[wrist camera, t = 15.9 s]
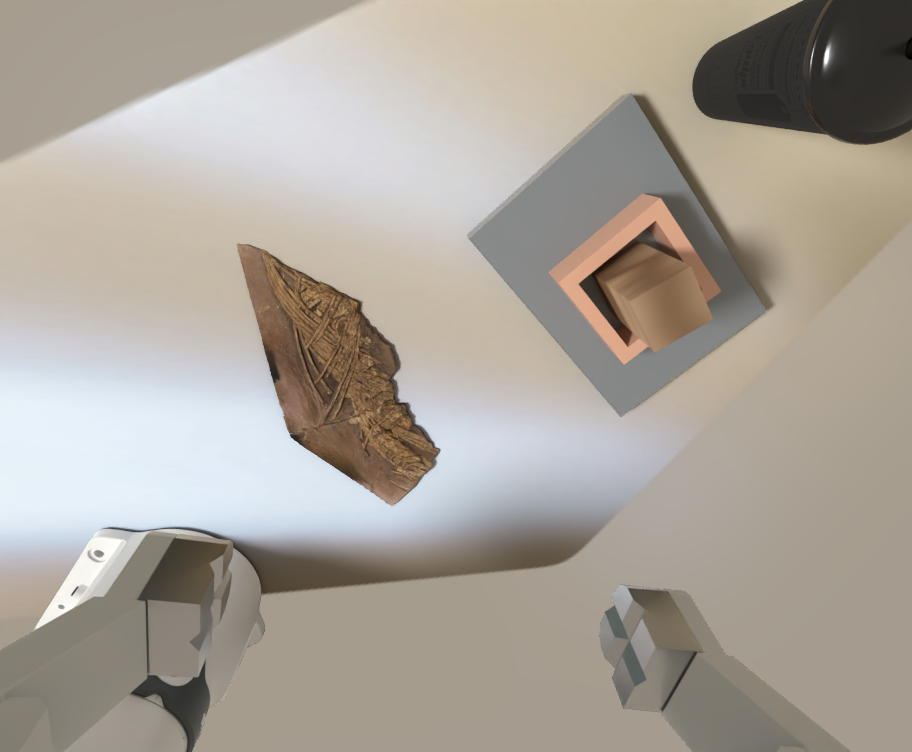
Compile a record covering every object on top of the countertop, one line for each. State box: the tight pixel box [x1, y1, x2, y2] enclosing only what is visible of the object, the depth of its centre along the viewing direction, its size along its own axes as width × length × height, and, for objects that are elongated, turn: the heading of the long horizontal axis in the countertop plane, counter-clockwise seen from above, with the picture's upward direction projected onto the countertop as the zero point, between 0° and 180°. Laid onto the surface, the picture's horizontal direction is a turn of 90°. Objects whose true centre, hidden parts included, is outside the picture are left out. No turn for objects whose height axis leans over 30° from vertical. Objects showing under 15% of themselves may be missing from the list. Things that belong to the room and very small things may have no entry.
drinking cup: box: [693, 0, 912, 145], centre depth 26 cm, size 8×8×20 cm
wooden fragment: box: [237, 244, 438, 506], centre depth 43 cm, size 26×11×1 cm, turn 20°
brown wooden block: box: [591, 241, 713, 352], centre depth 36 cm, size 4×4×8 cm
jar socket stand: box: [467, 93, 766, 417], centre depth 39 cm, size 14×20×4 cm
